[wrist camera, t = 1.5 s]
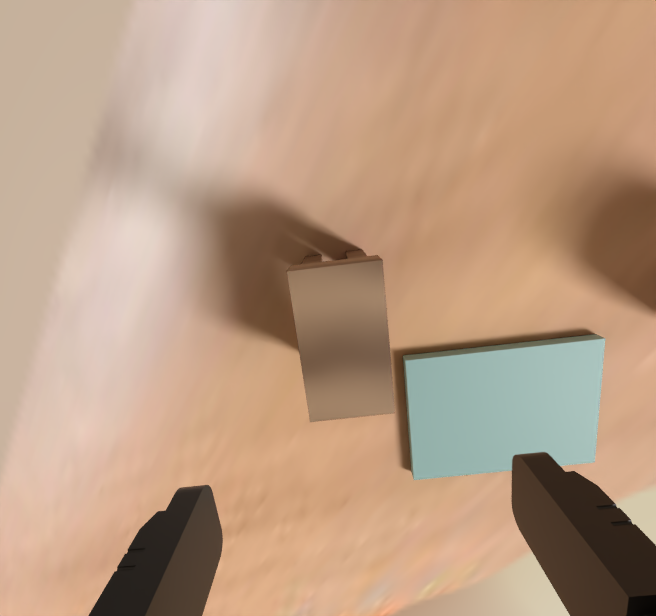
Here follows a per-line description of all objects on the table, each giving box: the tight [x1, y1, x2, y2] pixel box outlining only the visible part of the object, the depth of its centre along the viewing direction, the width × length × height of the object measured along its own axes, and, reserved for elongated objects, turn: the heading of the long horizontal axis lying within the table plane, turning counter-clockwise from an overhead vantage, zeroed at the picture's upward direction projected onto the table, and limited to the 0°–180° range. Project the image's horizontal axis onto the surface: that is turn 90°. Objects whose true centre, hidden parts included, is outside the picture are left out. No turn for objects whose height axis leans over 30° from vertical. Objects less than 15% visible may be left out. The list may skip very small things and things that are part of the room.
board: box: [403, 334, 605, 480], centre depth 29 cm, size 11×15×1 cm
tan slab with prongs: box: [287, 250, 395, 422], centre depth 24 cm, size 9×5×8 cm, turn 7°
